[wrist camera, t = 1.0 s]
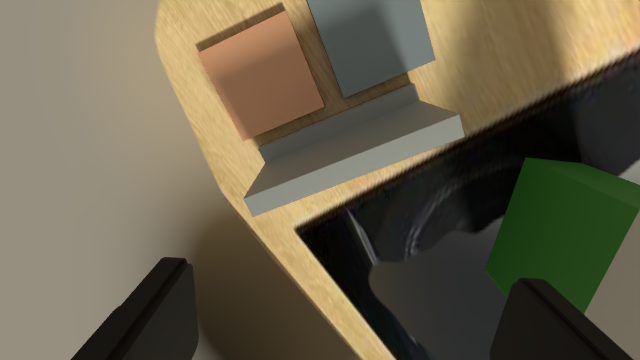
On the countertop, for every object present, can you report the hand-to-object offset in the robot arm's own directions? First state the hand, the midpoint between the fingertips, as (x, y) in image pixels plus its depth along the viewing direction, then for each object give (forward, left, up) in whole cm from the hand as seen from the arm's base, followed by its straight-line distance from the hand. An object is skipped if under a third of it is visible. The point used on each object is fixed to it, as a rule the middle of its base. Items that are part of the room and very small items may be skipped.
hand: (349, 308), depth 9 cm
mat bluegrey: (-8, -8, -31) cm, 33 cm away
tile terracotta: (+5, -8, -31) cm, 32 cm away
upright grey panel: (-1, +2, -31) cm, 31 cm away
